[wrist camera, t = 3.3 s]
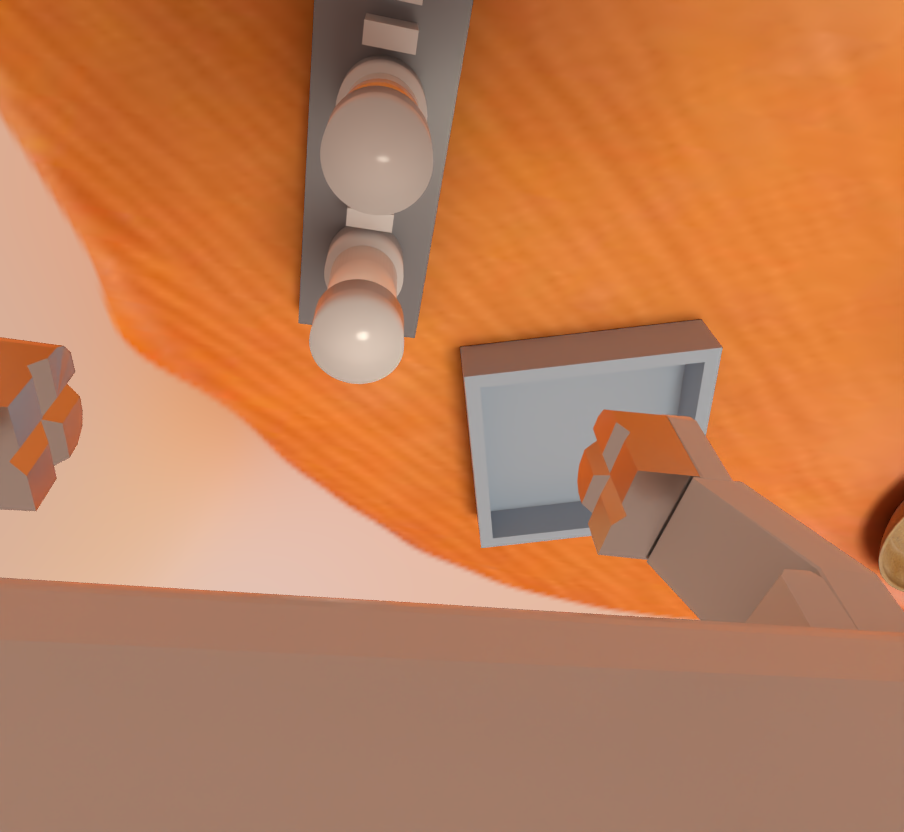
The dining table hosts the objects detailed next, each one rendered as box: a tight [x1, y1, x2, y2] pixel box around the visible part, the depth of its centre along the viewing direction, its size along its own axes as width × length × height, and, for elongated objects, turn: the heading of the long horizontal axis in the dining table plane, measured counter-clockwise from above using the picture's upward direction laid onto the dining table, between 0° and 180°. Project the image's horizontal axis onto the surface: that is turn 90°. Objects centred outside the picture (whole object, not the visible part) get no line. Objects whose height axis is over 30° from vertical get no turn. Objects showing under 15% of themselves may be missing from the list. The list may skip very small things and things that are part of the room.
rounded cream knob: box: [309, 226, 404, 384], centre depth 28 cm, size 4×4×8 cm
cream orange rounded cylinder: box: [320, 55, 433, 216], centre depth 24 cm, size 4×4×8 cm
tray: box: [460, 319, 723, 548], centre depth 39 cm, size 14×14×3 cm
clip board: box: [299, 0, 473, 338], centre depth 27 cm, size 22×6×4 cm, turn 169°
